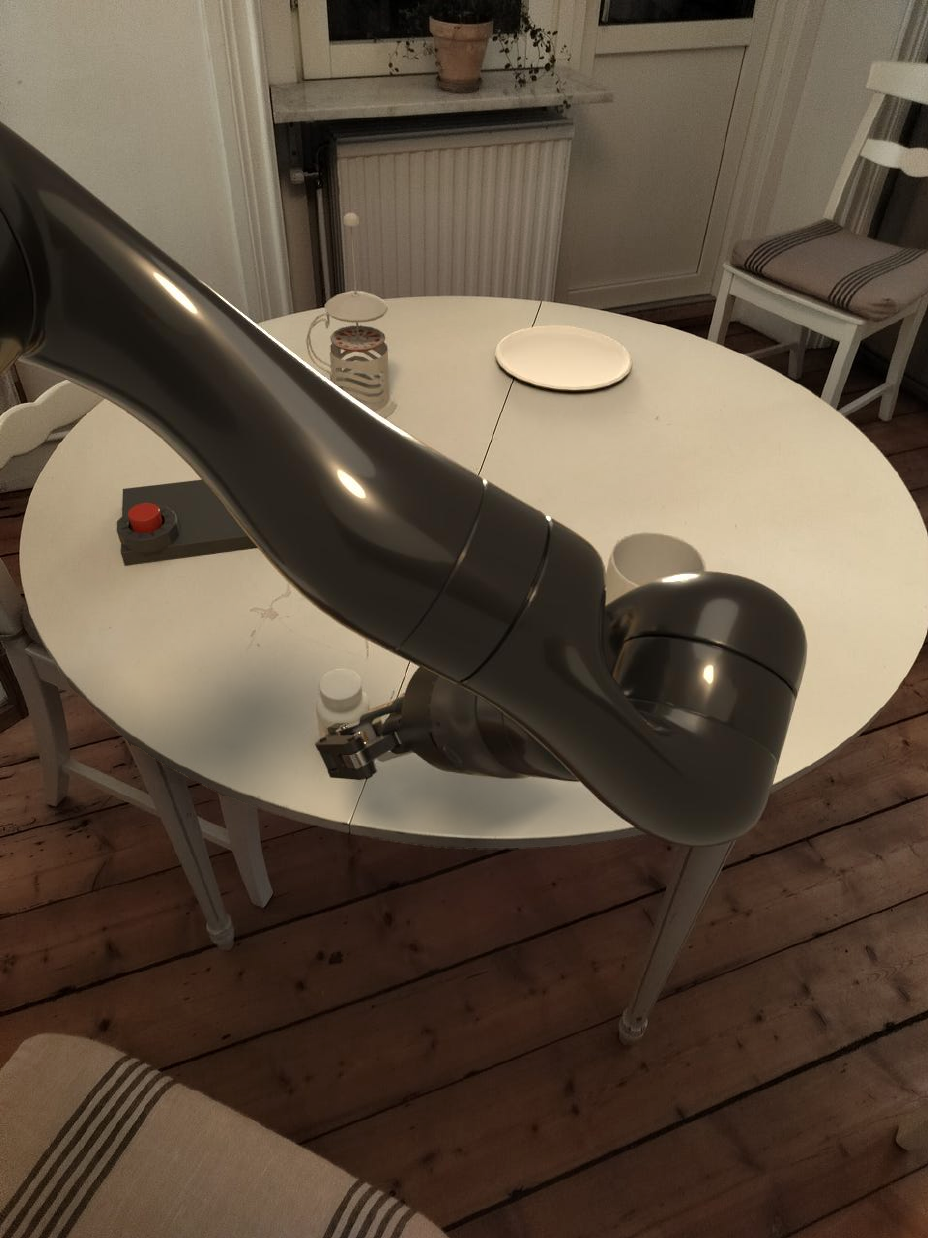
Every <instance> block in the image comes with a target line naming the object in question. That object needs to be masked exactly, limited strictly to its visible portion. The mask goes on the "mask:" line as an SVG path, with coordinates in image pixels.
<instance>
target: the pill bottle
mask: <svg viewBox="0 0 928 1238" xmlns="http://www.w3.org/2000/svg"><path fill="white" fill-rule="evenodd" d="M318 683H319V684H318V688H319V689H318V690H319V696H318V698H317V700H316V704H315V709H316V718H317V725H318V726H317V727H318V733H319V739H320V738H322V737H325V735H327V734H329V733H328V730H327V728H328V727H330V726H332V725H334V724H335V723H353V722H356V721H359V720H360V717H361V716H362V715H363V714H364V713H366V712H367V711H368V710H370V702H369V698H368V696H367V694H366V692H365V691H363V685H362V679H361V677H360V675H358V673H357V672H356V671H354V670H351V669H348V668H334V669H332V670H329V671H327V672H326V673H325V674H324V675H322V677H321V678H320V680H319V682H318ZM358 732H360V733H361V735H362V737H363V739H364V741H367V740H368V738H367V735H366V733H365V732H364V731H358ZM358 732H357V733H358Z"/></svg>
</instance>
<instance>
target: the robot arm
mask: <svg viewBox="0 0 928 1238" xmlns="http://www.w3.org/2000/svg"><path fill="white" fill-rule="evenodd" d="M17 362H21V363H24V364H27V365H31V366H33V367H36V368H38V369H40V370H43V371H45V372H48V373H50V374H53V375H55V376H57V377H59V378H61V379H64V380H66V381H68V382H70V383H73V384H74V385H77V386H79V387H81V388H83V389H85V390H88V391H90V392H92V393H94V394H95V395H97V396H99V397H102V398H104V399H105V400H107V401H108V402H110V403H111V404H114V405H115V406H116V407H118V408H120V409H121V410H123V411H124V412H126V413H128V415H130V416H132V417H133V418H134V419H136V420H137V421H139V422H140V423H141V424H143V425H144V426H145V427H146V428H147V429H149V430H150V431H151V432H153V433H154V434H155V435H156V436H157V437H159V438H160V439H161V440H163V442H165V444H166V445H167V446H168V447H170V448H171V449H172V450H173V451H174V452H175V453H176V454H177V455H178V456H179V457H180V458H181V459H182V461H184V462H185V463H186V464H187V465H188V466H189V467H190V468H191V469H192V470H193V471H194V473H195V474H196V475H198V477H199V478H200V480H203V481H204V483H205V484H206V485H207V486H208V487H209V488H210V489H211V491H212V492H213V493H214V494H215V495H216V496H217V497H218V499H219V500H220V501H221V502H222V504H223V505H224V506H225V507H226V509H227V510H228V511H229V512H230V514H231V515H232V516H233V518H234V519H235V520H236V521H237V523H238V524H239V525H240V527H241V528H242V529H243V530H244V532H245V533H246V534H247V535H248V536H249V538H250V539H251V540H252V541H253V543H254V544H255V545H256V546H257V549H258V550H259V552H261V554H262V555H263V556H264V558H266V560H267V561H268V562H269V563H270V565H272V567H273V568H274V569H275V570H276V571H277V572H278V573H279V575H281V576H282V577H283V578H284V580H285V581H286V582H288V584H290V585H291V586H292V587H293V588H294V589H295V591H297V592H298V593H299V595H301V596H302V597H304V598H305V599H306V600H307V601H308V602H309V603H310V604H311V605H313V606H314V607H315V608H316V609H318V610H319V611H320V612H322V613H323V614H324V615H326V616H327V617H329V618H330V619H332V620H333V621H335V622H336V623H337V624H339V625H341V626H342V627H344V628H346V629H347V630H349V631H351V632H352V633H354V634H356V635H358V636H359V637H361V638H362V639H364V640H367V641H369V642H370V643H372V644H374V645H376V646H377V647H380V648H382V649H383V650H386V651H388V652H389V653H392V654H393V655H395V656H398V657H399V658H402V659H404V660H405V661H407V662H409V663H412V664H414V665H415V666H417V667H418V668H416V669H415V672H414V673H413V674H412V675H411V677H410V679H409V681H408V683H407V686H406V688H405V690H404V692H402V693H401V694H400V695H399V696H398V697H396V698H395V699H394V700H391V701H388V702H386V703H382V704H379V705H377V706H373V707H370V708H369V710H368V711H367V712H366V713H364V714H363V715H362V716H361V717H360V720H359V721H356V722H353V723H335V724H334V725H332V726H330V727H328V728H327V730H328V733H329V734H327V735H325V737H322V738H320V737H319V739H318V741H316V742H315V743H314V746H315V748H316V750H317V752H318V753H319V754H320V757H321V759H322V761H323V764H324V765H325V768H326V771H327V774H328V776H329V778H330V779H341V780H342V779H344V780H356V781H363V780H369V779H371V778H373V776H374V775H375V774H377V772H378V770H377V768H376V763H375V760H377V761H379V762H381V763H384V762H388V761H392V760H394V759H397V758H400V757H404V756H408V755H410V754H415V755H416V756H418V757H419V758H421V760H423V761H424V762H426V763H427V764H429V765H431V766H432V767H434V768H436V769H438V770H440V771H443V772H446V773H453V774H460V775H469V776H476V777H477V776H478V777H486V778H495V779H502V780H518V779H519V780H520V779H526V778H536V779H545V780H555V781H561V782H571V783H572V782H574V783H581V785H582V786H583V787H584V788H585V789H587V790H588V791H589V792H590V793H591V795H593V796H594V797H595V798H596V799H597V800H598V801H599V802H601V803H602V804H603V805H604V806H606V807H607V808H608V809H609V810H610V811H611V812H612V813H613V814H615V815H616V816H617V817H619V818H620V819H621V820H623V821H624V822H626V823H628V824H629V825H630V826H632V827H633V828H635V829H637V830H639V831H640V832H642V833H644V834H646V835H648V836H651V837H652V838H655V839H658V840H660V841H662V842H665V843H669V844H672V845H675V846H682V847H686V848H687V847H688V848H709V847H717V846H722V845H725V844H728V843H730V842H733V841H736V840H738V839H740V838H741V837H743V836H744V835H746V834H747V833H748V832H750V831H751V830H752V829H753V828H754V827H756V825H757V823H758V822H759V821H760V819H761V817H762V815H763V814H764V811H765V809H766V807H767V804H768V802H769V797H770V794H771V792H772V789H773V786H774V785H773V784H774V781H775V778H776V773H777V771H778V765H779V762H780V759H781V756H782V752H783V749H784V744H785V741H786V738H787V734H788V731H789V727H790V723H791V720H792V716H793V712H794V708H795V705H796V701H797V698H798V696H799V693H800V688H801V685H802V681H803V677H804V674H805V669H806V665H807V657H808V640H807V634H806V629H805V627H804V624H803V623H802V620H801V618H800V616H799V615H798V613H797V611H796V610H795V608H794V607H792V605H791V604H790V603H789V602H788V601H787V600H786V599H785V598H784V597H783V596H782V595H781V594H779V593H778V592H777V591H775V590H774V589H772V588H770V587H769V586H766V585H765V584H763V583H761V582H759V581H757V580H755V579H752V578H750V577H747V576H742V575H739V574H733V573H729V572H728V573H727V572H722V571H712V570H710V571H709V570H708V571H707V570H706V571H699V572H686V573H680V574H674V575H669V576H665V577H662V578H658V579H656V580H653V581H650V582H647V583H645V584H642V585H640V586H638V587H636V588H634V589H632V590H631V591H629V592H627V593H625V594H623V595H621V596H620V597H618V598H616V599H615V600H613V601H611V602H610V603H608V604H607V605H605V604H606V590H607V577H606V571H607V569H606V566H605V563H604V560H603V558H602V556H601V554H600V552H599V551H598V550H597V548H595V547H594V545H593V544H592V543H591V542H589V541H588V540H587V539H586V538H584V537H583V536H582V535H581V534H579V533H577V532H576V531H574V530H573V529H571V528H570V527H568V526H566V525H564V524H563V523H561V522H559V521H558V520H556V519H555V518H552V517H551V516H549V515H546V514H545V513H544V512H542V511H541V510H539V509H537V508H536V507H534V506H532V505H531V504H529V503H527V502H525V501H523V500H522V499H521V498H519V497H517V496H515V495H514V494H512V493H510V492H508V491H506V490H505V489H503V488H501V487H499V486H498V485H496V484H494V483H493V482H491V481H490V480H488V479H486V478H485V477H483V476H481V475H479V474H478V473H475V472H474V471H472V470H470V469H469V468H467V467H466V466H464V465H462V464H460V463H458V462H457V461H455V460H454V459H452V458H450V457H448V456H447V455H444V454H443V453H441V452H439V451H438V450H436V449H435V448H433V447H431V446H429V445H428V444H427V443H425V442H423V441H422V440H420V439H418V438H416V437H415V436H414V435H412V434H410V433H408V432H407V431H406V430H404V429H402V428H400V427H399V426H397V425H395V424H394V423H392V422H391V421H389V420H388V419H386V417H385V418H383V417H382V416H380V415H379V414H377V413H376V412H374V411H373V410H371V409H370V408H368V407H367V406H365V405H364V404H362V403H361V402H359V401H358V400H356V399H355V398H353V397H352V396H350V395H349V394H347V393H346V392H345V391H343V390H342V389H340V388H339V387H337V386H336V385H335V384H333V383H332V382H331V381H330V379H328V378H327V377H325V376H324V375H322V374H321V373H320V372H318V370H316V369H315V368H314V367H313V366H311V365H309V364H308V363H307V362H306V361H305V360H303V359H302V358H300V357H299V356H298V355H296V354H295V353H294V352H292V351H291V350H290V349H289V348H288V347H286V346H285V345H284V344H282V343H281V342H280V341H278V340H277V339H276V338H275V337H273V336H272V335H271V334H269V333H268V332H267V331H266V330H264V329H263V328H261V327H260V326H259V325H258V324H256V323H255V322H254V321H253V320H251V319H250V318H249V317H248V316H247V315H246V314H244V313H243V312H242V311H240V310H239V309H238V308H236V306H235V305H233V304H231V302H229V301H228V300H226V299H225V298H224V296H222V295H221V294H219V293H218V292H216V291H215V290H214V289H213V288H211V287H210V286H209V285H208V284H206V283H205V282H204V281H202V280H201V279H200V278H199V277H198V276H196V275H195V274H193V273H192V272H191V271H189V270H188V269H187V267H185V266H183V265H182V263H179V262H178V261H177V260H176V259H175V258H173V257H172V256H171V255H169V254H168V253H167V252H166V251H164V250H163V249H162V248H161V247H159V246H158V245H157V244H155V242H153V241H152V240H150V239H149V238H148V237H146V236H145V235H144V234H143V233H142V232H140V231H139V230H138V229H136V228H135V227H134V226H133V225H131V223H129V222H128V221H126V219H124V218H123V217H122V216H121V215H120V214H118V213H117V212H116V211H114V210H113V209H112V208H111V207H110V206H109V205H108V204H106V203H105V202H104V201H102V200H101V199H100V198H99V197H98V196H97V195H95V194H94V193H93V192H92V191H90V190H89V189H88V188H87V187H86V186H84V185H83V184H82V183H80V182H79V181H78V180H77V179H76V178H74V177H73V176H72V175H71V174H70V173H68V172H67V171H66V170H64V168H62V167H61V166H59V164H57V163H55V162H54V161H53V160H52V159H51V158H49V157H48V156H47V155H46V154H44V152H42V151H41V150H39V148H37V147H36V146H34V145H33V144H32V143H30V142H29V141H27V140H26V139H25V138H24V137H22V136H21V135H20V134H19V133H17V132H16V131H15V130H13V129H12V128H11V127H10V126H8V125H7V124H6V123H4V122H2V121H1V120H0V377H1V376H2V375H3V374H4V373H5V372H7V371H8V370H9V368H10V367H12V366H13V364H15V363H17ZM386 715H388V716H387V717H386V719H385V720H384V721H382V719H381V717H383V716H386ZM358 731H364V732H365V733H366V735H367V738H368V740H367V741H364V739H363V737H362V735H361V733H360V732H358ZM357 732H358V733H357Z"/></svg>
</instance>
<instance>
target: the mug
mask: <svg viewBox="0 0 928 1238" xmlns="http://www.w3.org/2000/svg"><path fill="white" fill-rule="evenodd" d="M699 571H707V568H706V563H705V560H704V558H703V556H702V554H701V553H700V552H699V550H698V549H697V548H696V547H695V546H694V545H692V544H690V543H689V542H687V541H686V540H684V539H682V538H680V537H678V536H674V535H670V534H666V533H661V532H647V531H646V532H645V531H643V532H635V533H631V534H628V535H626V536H624V537H621V538H620V539H618V540H617V542H616V543H615V544H614V545H613V547H612V549H611V552H610V554H609V558H608V562H607V566H606V577H607V590H606V604H605V605H607V604H608V603H610V602H611V601H613V600H615V599H616V598H618V597H620V596H621V595H623V594H625V593H627V592H629V591H631V590H632V589H634V588H636V587H638V586H640V585H642V584H645V583H647V582H650V581H653V580H656V579H658V578H662V577H665V576H669V575H674V574H680V573H686V572H699Z"/></svg>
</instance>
